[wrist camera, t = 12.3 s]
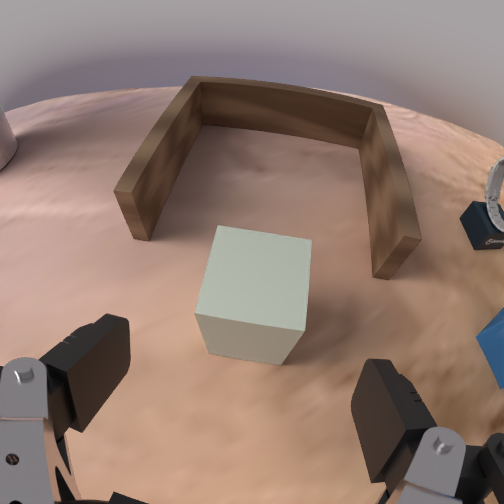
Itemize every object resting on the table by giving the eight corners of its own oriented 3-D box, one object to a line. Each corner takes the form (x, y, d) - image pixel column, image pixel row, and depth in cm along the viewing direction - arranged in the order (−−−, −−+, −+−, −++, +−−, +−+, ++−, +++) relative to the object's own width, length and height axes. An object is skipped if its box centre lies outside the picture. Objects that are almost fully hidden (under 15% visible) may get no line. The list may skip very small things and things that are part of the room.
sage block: (222, 290, 23) (217, 225, 16) (288, 300, 23) (311, 239, 16) (208, 353, 20) (194, 312, 13) (280, 365, 20) (304, 331, 13)
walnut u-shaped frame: (194, 117, 35) (191, 76, 30) (368, 144, 34) (382, 105, 29) (133, 238, 25) (113, 190, 20) (388, 279, 24) (421, 239, 19)
